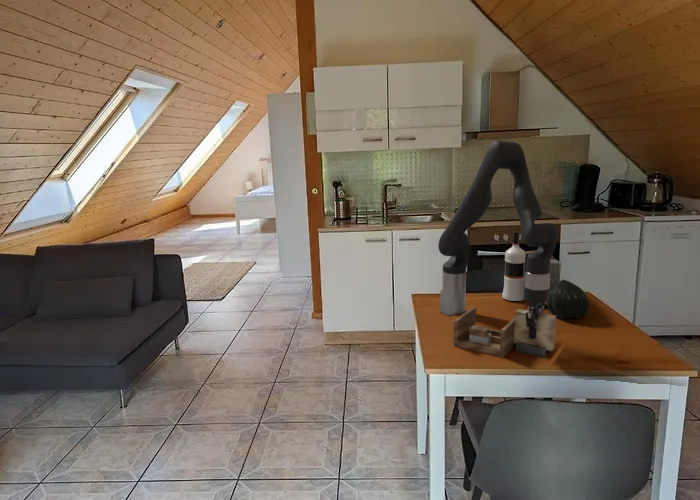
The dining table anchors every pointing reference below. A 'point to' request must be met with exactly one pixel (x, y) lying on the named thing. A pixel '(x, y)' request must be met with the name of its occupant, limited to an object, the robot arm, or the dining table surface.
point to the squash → (568, 300)
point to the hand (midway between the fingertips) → (533, 336)
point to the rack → (499, 339)
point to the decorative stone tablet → (554, 273)
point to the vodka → (514, 271)
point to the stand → (531, 349)
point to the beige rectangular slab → (544, 330)
